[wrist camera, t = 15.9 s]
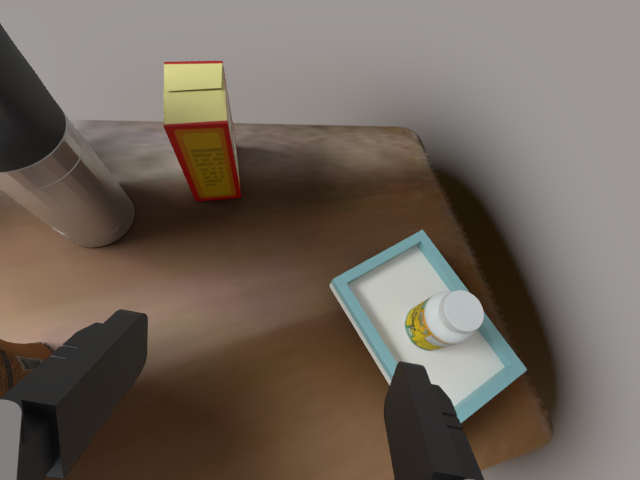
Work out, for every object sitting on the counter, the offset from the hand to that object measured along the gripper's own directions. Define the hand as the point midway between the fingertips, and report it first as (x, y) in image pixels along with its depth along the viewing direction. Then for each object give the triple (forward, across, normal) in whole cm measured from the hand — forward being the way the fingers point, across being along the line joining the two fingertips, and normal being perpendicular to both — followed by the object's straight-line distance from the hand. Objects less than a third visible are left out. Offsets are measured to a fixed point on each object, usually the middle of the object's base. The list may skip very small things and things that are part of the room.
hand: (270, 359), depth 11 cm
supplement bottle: (+27, -16, +14) cm, 34 cm away
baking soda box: (+44, +15, +4) cm, 46 cm away
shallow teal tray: (+30, -16, +18) cm, 38 cm away
